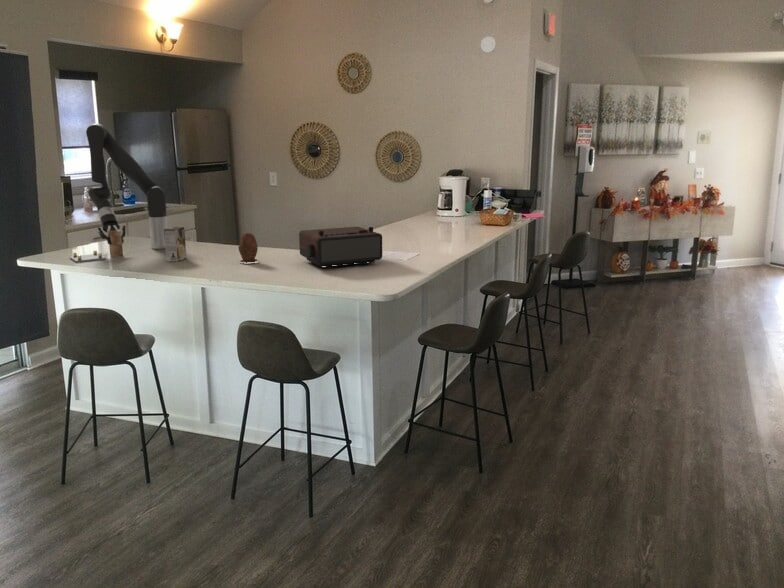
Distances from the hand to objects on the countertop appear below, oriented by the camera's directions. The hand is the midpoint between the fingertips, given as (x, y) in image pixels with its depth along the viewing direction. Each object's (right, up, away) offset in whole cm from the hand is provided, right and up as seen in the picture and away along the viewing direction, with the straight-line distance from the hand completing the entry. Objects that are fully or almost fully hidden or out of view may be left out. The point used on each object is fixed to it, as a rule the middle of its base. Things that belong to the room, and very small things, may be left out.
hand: (116, 243), depth 347 cm
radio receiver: (+115, -11, -17) cm, 116 cm away
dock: (-12, -8, -5) cm, 16 cm away
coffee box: (+33, -9, -8) cm, 35 cm away
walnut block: (-1, -6, +3) cm, 7 cm away
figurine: (+71, -11, -14) cm, 73 cm away
